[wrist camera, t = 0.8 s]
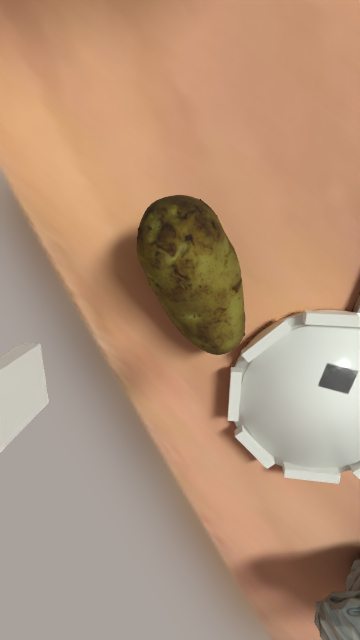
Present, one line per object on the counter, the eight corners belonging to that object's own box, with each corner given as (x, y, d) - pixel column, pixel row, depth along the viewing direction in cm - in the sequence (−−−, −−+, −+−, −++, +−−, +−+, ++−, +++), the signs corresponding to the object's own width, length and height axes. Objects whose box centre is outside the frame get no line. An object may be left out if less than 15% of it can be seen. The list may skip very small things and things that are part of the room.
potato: (156, 341, 31) (134, 379, 24) (148, 202, 28) (119, 194, 20) (242, 343, 30) (248, 383, 22) (246, 197, 26) (255, 187, 19)
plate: (234, 304, 29) (235, 309, 27) (437, 314, 27) (452, 320, 25) (224, 458, 34) (224, 470, 32) (394, 476, 32) (404, 491, 30)
